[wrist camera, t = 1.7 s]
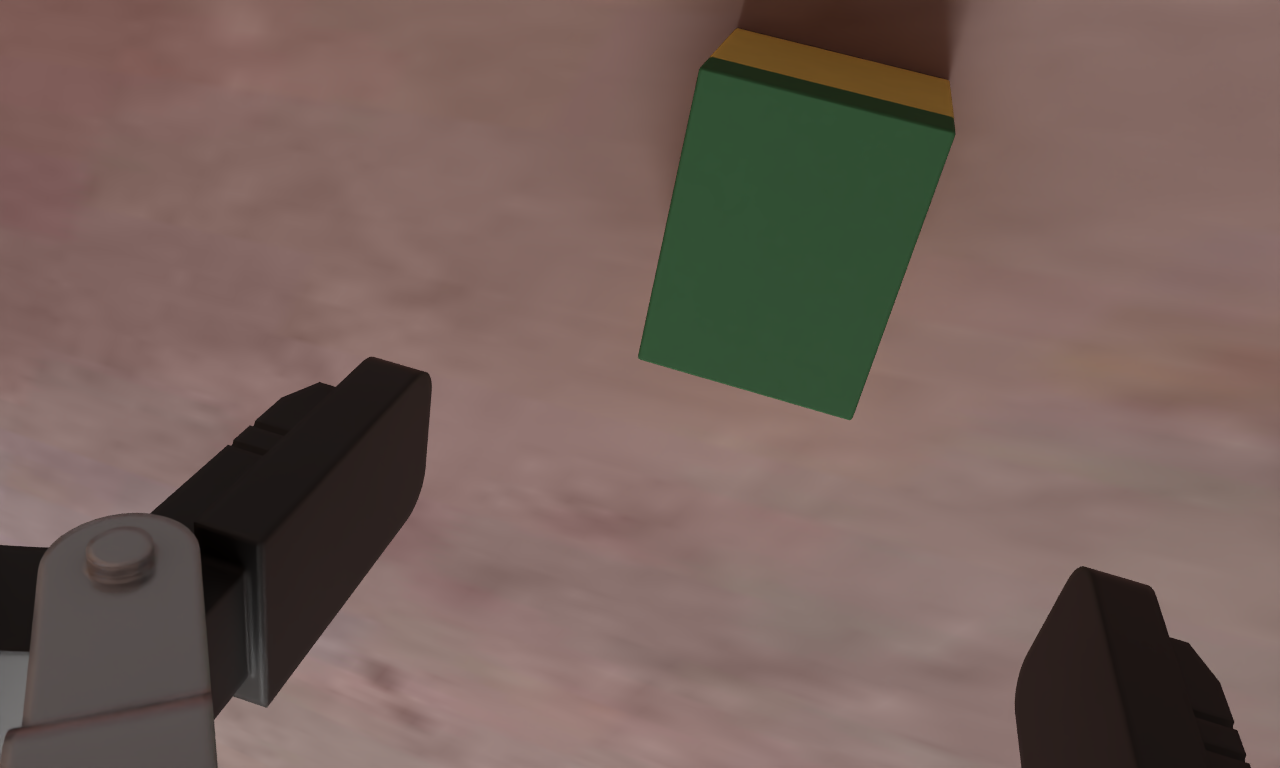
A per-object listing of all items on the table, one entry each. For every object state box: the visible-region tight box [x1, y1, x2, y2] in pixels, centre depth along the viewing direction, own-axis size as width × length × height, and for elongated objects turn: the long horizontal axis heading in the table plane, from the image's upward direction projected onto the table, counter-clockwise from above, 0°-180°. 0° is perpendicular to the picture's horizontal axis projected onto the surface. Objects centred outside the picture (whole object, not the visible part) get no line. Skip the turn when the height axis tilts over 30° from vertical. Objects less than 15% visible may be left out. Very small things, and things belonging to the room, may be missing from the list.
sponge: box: [638, 28, 955, 420], centre depth 20 cm, size 6×4×4 cm
